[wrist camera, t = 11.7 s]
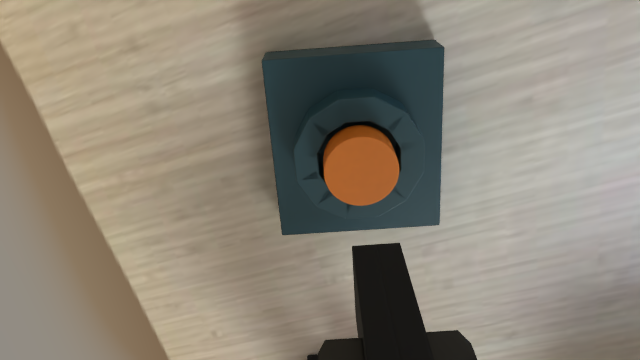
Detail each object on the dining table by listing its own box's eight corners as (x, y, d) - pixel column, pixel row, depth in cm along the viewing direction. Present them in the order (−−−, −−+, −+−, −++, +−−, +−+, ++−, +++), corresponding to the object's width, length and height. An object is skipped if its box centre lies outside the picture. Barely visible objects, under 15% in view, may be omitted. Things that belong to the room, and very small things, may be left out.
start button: (320, 127, 25) (321, 139, 24) (394, 122, 25) (399, 133, 24) (325, 192, 27) (326, 208, 25) (394, 188, 27) (399, 203, 25)
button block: (265, 52, 27) (257, 68, 24) (435, 39, 27) (453, 53, 23) (284, 217, 31) (279, 252, 28) (431, 207, 31) (446, 242, 28)
